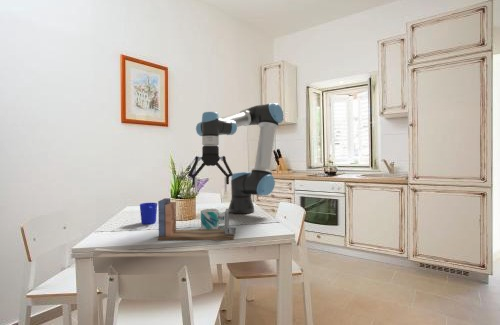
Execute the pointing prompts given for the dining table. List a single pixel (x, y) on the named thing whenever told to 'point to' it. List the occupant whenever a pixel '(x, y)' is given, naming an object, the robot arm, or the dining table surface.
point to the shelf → (170, 233)
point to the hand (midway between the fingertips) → (210, 191)
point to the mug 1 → (148, 213)
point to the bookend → (228, 230)
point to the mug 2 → (211, 219)
